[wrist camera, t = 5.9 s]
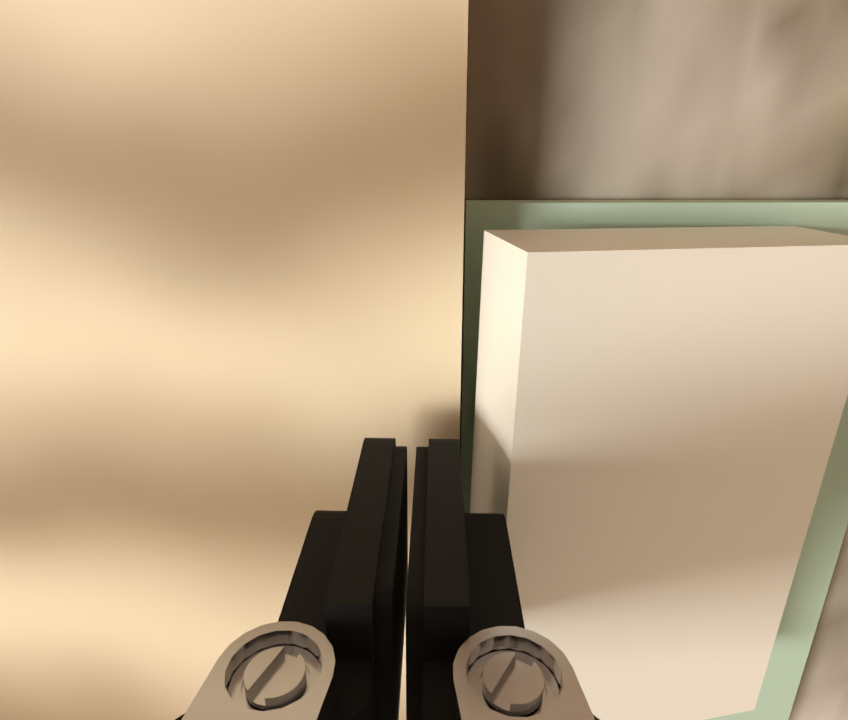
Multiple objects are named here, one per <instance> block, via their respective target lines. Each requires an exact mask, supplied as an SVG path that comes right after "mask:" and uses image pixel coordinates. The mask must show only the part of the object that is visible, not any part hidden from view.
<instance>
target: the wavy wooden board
mask: <svg viewBox="0 0 848 720" xmlns="http://www.w3.org/2000/svg"><path fill="white" fill-rule="evenodd" d="M467 48H468V0H0V720H175V719H177V718H178V717H180V716H181V715H183V714H185V713H186V711H187V709H188V708H189V706H190V704H191V703H192V701H193V699H194V698H195V696H196V694H197V693H198V691H199V689H200V688H201V686H202V684H203V683H204V681H205V679H206V678H207V676H208V674H209V673H210V671H211V669H212V668H213V666H214V664H215V663H216V661H217V660H218V658H219V657H220V656H221V654H222V653H223V652H224V651H225V649H226V648H227V647H228V646H229V644H231V643H232V642H233V641H235V640H236V639H237V638H239V637H240V636H241V635H243V634H244V633H246V632H248V631H250V630H252V629H254V628H257V627H259V626H261V625H265V624H270V623H274V622H278V620H279V616H280V613H281V610H282V607H283V604H284V601H285V598H286V595H287V592H288V589H289V586H290V583H291V580H292V577H293V574H294V571H295V568H296V565H297V562H298V559H299V556H300V553H301V549H302V546H303V543H304V540H305V537H306V534H307V531H308V528H309V525H310V522H311V519H312V516H313V514H314V512H315V511H316V510H329V511H347V507H348V503H349V499H350V495H351V491H352V486H353V482H354V478H355V474H356V470H357V466H358V462H359V458H360V453H361V449H362V445H363V441H364V438H395V440H396V446H407V493H408V562H409V548H410V533H411V519H412V504H413V490H414V475H415V461H416V447H428V445H429V439H459V443H460V394H461V344H462V295H463V246H464V196H465V147H466V98H467ZM399 720H406V616H405V631H404V646H403V661H402V676H401V690H400V705H399Z"/></svg>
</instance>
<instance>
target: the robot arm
mask: <svg viewBox="0 0 848 720" xmlns="http://www.w3.org/2000/svg"><path fill="white" fill-rule="evenodd" d="M405 616H406V720H600V719H598V718H597V717H596V716H594V715H593V714H592V711H591V709H590V707H589V704H588V702H587V700H586V697H585V695H584V693H583V691H582V688H581V686H580V684H579V681H578V679H577V677H576V674H575V672H574V670H573V667H572V665H571V664H570V662H569V661H568V659H567V657H566V656H565V654H564V653H563V651H561V650H560V649H559V648H558V647H557V646H556V645H555V644H554V643H553V642H552V641H550V640H549V639H547V638H545V637H544V636H542V635H540V634H538V633H536V632H534V631H531V630H528V629H525V626H524V620H523V615H522V609H521V603H520V597H519V592H518V586H517V580H516V575H515V569H514V563H513V558H512V552H511V546H510V540H509V535H508V529H507V523H506V519H505V515H504V514H496V513H464V504H463V489H462V475H461V460H460V446H459V439H429V445H428V447H416V461H415V475H414V490H413V504H412V519H411V533H410V548H409V562H408V493H407V446H396V440H395V438H364V441H363V445H362V449H361V453H360V458H359V462H358V466H357V470H356V474H355V478H354V482H353V486H352V491H351V495H350V499H349V503H348V507H347V511H329V510H316V511H315V512H314V514H313V516H312V519H311V522H310V525H309V528H308V531H307V534H306V537H305V540H304V543H303V546H302V549H301V553H300V556H299V559H298V562H297V565H296V568H295V571H294V574H293V577H292V580H291V583H290V586H289V589H288V592H287V595H286V598H285V601H284V604H283V607H282V610H281V613H280V616H279V620H278V622H274V623H270V624H265V625H261V626H259V627H257V628H254V629H252V630H250V631H248V632H246V633H244V634H243V635H241V636H240V637H239V638H237V639H236V640H235V641H233V642H232V643H231V644H229V646H228V647H227V648H226V649H225V651H224V652H223V653H222V654H221V656H220V657H219V658H218V660H217V661H216V663H215V664H214V666H213V668H212V669H211V671H210V673H209V674H208V676H207V678H206V679H205V681H204V683H203V684H202V686H201V688H200V689H199V691H198V693H197V694H196V696H195V698H194V699H193V701H192V703H191V704H190V706H189V708H188V709H187V711H186V713H185V714H183V715H181V716H180V717H178V718H177V719H175V720H399V705H400V690H401V676H402V661H403V646H404V631H405Z"/></svg>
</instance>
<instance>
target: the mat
mask: <svg viewBox="0 0 848 720" xmlns="http://www.w3.org/2000/svg"><path fill="white" fill-rule="evenodd" d="M733 226H798V227H803V228H809V229H814V230H819V231H825V232H830V233H836V234H841V235H846V236H848V200H465V225H464V273H463V322H462V370H461V419H460V460H461V475H462V489H463V504H464V513H470V496H471V476H472V457H473V437H474V418H475V398H476V379H477V360H478V340H479V321H480V301H481V282H482V262H483V243H484V230H536V229H602V228H667V227H733ZM847 526H848V395H847V399H846V402H845V405H844V409H843V412H842V415H841V419H840V422H839V426H838V429H837V432H836V436H835V439H834V443H833V446H832V449H831V453H830V456H829V459H828V463H827V466H826V470H825V473H824V476H823V480H822V483H821V486H820V490H819V493H818V497H817V500H816V503H815V507H814V510H813V513H812V517H811V520H810V524H809V527H808V530H807V534H806V537H805V541H804V544H803V547H802V551H801V554H800V557H799V561H798V564H797V568H796V571H795V574H794V578H793V581H792V584H791V588H790V591H789V595H788V598H787V601H786V605H785V608H784V611H783V615H782V618H781V622H780V625H779V628H778V632H777V635H776V638H775V642H774V645H773V649H772V652H771V655H770V659H769V662H768V666H767V669H766V672H765V676H764V679H763V682H762V686H761V689H760V693H759V696H758V699H757V703H756V706H755V709H754V710H751V711H746V712H741V713H736V714H731V715H726V716H721V717H716V718H711V719H706V720H789V716H790V713H791V710H792V707H793V703H794V700H795V697H796V693H797V690H798V687H799V684H800V680H801V677H802V674H803V670H804V667H805V664H806V661H807V657H808V654H809V651H810V647H811V644H812V641H813V638H814V634H815V631H816V628H817V624H818V621H819V618H820V614H821V611H822V608H823V605H824V601H825V598H826V595H827V591H828V588H829V585H830V582H831V578H832V575H833V572H834V568H835V565H836V562H837V559H838V555H839V552H840V549H841V545H842V542H843V539H844V536H845V532H846V529H847Z"/></svg>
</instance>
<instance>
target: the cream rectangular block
mask: <svg viewBox="0 0 848 720" xmlns="http://www.w3.org/2000/svg"><path fill="white" fill-rule="evenodd" d="M847 395H848V236H846V235H841V234H836V233H830V232H825V231H819V230H814V229H809V228H803V227H798V226H733V227H667V228H602V229H536V230H484V243H483V262H482V282H481V301H480V321H479V340H478V360H477V379H476V398H475V418H474V437H473V457H472V476H471V496H470V513H496V514H504V515H505V519H506V523H507V529H508V535H509V540H510V546H511V552H512V558H513V563H514V569H515V575H516V580H517V586H518V592H519V597H520V603H521V609H522V615H523V620H524V626H525V629H528V630H531V631H534V632H536V633H538V634H540V635H542V636H544V637H545V638H547V639H549V640H550V641H552V642H553V643H554V644H555V645H556V646H557V647H558V648H559V649H560V650H561V651H563V653H564V654H565V656H566V657H567V659H568V661H569V662H570V664H571V665H572V667H573V670H574V672H575V674H576V677H577V679H578V681H579V684H580V686H581V688H582V691H583V693H584V695H585V697H586V700H587V702H588V704H589V707H590V709H591V711H592V714H593V715H594V716H596V717H597V718H598V719H600V720H706V719H711V718H716V717H721V716H726V715H731V714H736V713H741V712H746V711H751V710H754V709H755V706H756V703H757V699H758V696H759V693H760V689H761V686H762V682H763V679H764V676H765V672H766V669H767V666H768V662H769V659H770V655H771V652H772V649H773V645H774V642H775V638H776V635H777V632H778V628H779V625H780V622H781V618H782V615H783V611H784V608H785V605H786V601H787V598H788V595H789V591H790V588H791V584H792V581H793V578H794V574H795V571H796V568H797V564H798V561H799V557H800V554H801V551H802V547H803V544H804V541H805V537H806V534H807V530H808V527H809V524H810V520H811V517H812V513H813V510H814V507H815V503H816V500H817V497H818V493H819V490H820V486H821V483H822V480H823V476H824V473H825V470H826V466H827V463H828V459H829V456H830V453H831V449H832V446H833V443H834V439H835V436H836V432H837V429H838V426H839V422H840V419H841V415H842V412H843V409H844V405H845V402H846V399H847Z"/></svg>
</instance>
